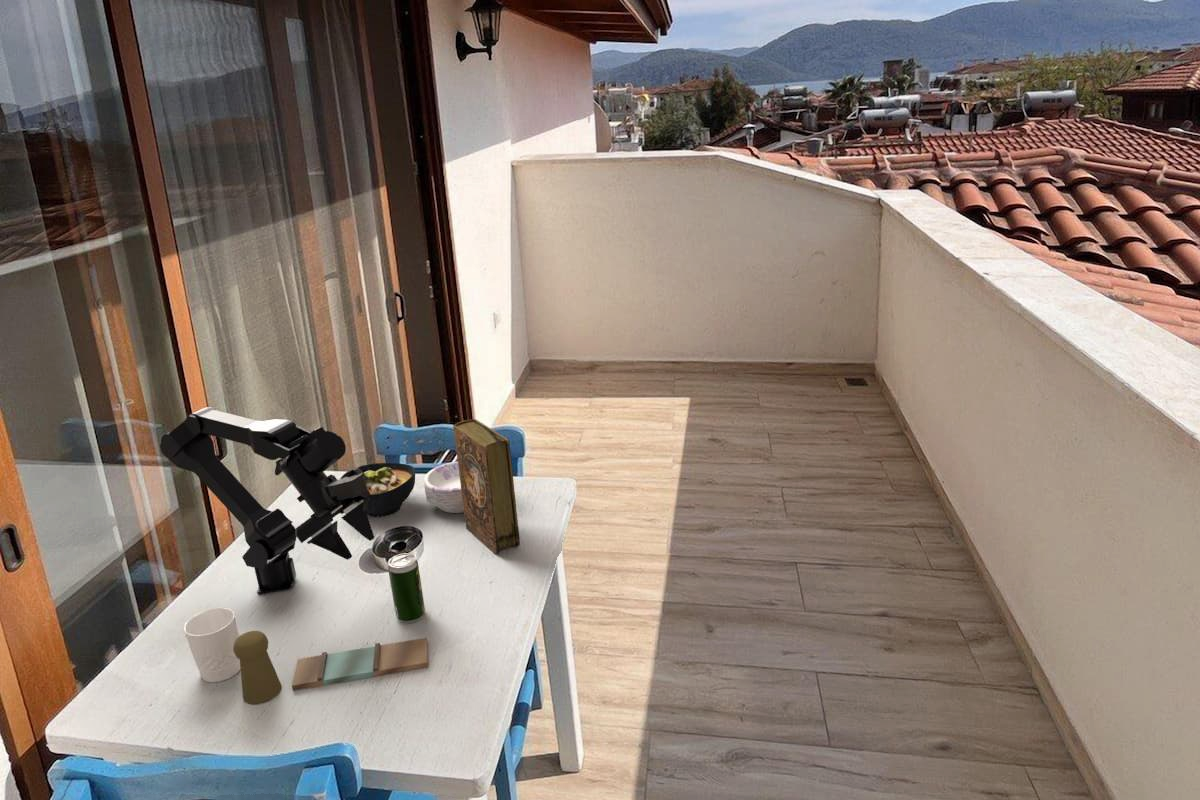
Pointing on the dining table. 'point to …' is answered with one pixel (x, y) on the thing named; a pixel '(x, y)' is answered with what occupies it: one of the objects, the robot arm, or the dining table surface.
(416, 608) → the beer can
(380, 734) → the dining table surface
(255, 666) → the cork
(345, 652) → the board
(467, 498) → the book
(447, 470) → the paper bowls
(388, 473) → the bowl
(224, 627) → the white cup
